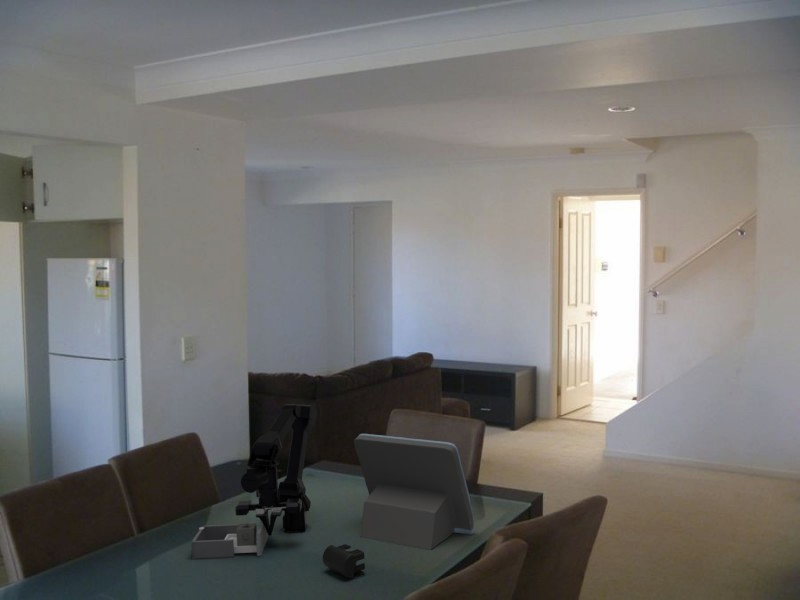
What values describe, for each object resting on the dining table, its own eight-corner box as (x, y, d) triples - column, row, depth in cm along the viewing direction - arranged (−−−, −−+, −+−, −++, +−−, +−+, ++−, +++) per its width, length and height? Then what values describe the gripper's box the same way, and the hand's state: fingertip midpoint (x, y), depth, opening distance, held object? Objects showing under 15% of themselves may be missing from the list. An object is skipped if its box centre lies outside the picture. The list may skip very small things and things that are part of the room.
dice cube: (237, 546, 232) (236, 529, 232) (240, 540, 237) (239, 523, 237) (254, 545, 232) (253, 528, 232) (257, 539, 237) (256, 523, 237)
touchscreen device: (477, 531, 242) (472, 434, 239) (446, 555, 225) (441, 451, 223) (381, 515, 260) (375, 425, 258) (345, 536, 244) (339, 440, 242)
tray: (267, 538, 242) (266, 517, 242) (260, 555, 228) (259, 533, 228) (228, 540, 242) (227, 519, 241) (219, 557, 228) (218, 535, 227)
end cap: (322, 572, 215) (321, 547, 215) (344, 565, 220) (343, 540, 219) (344, 582, 207) (343, 557, 207) (366, 575, 212) (365, 550, 212)
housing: (242, 540, 242) (241, 523, 242) (233, 557, 228) (232, 539, 228) (202, 542, 242) (201, 524, 241) (190, 559, 228) (189, 541, 227)
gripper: (302, 474, 242) (304, 525, 243) (240, 477, 242) (242, 527, 243) (298, 484, 231) (301, 537, 232) (233, 487, 231) (236, 540, 231)
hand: (270, 535), depth 235 cm, fingers closed
